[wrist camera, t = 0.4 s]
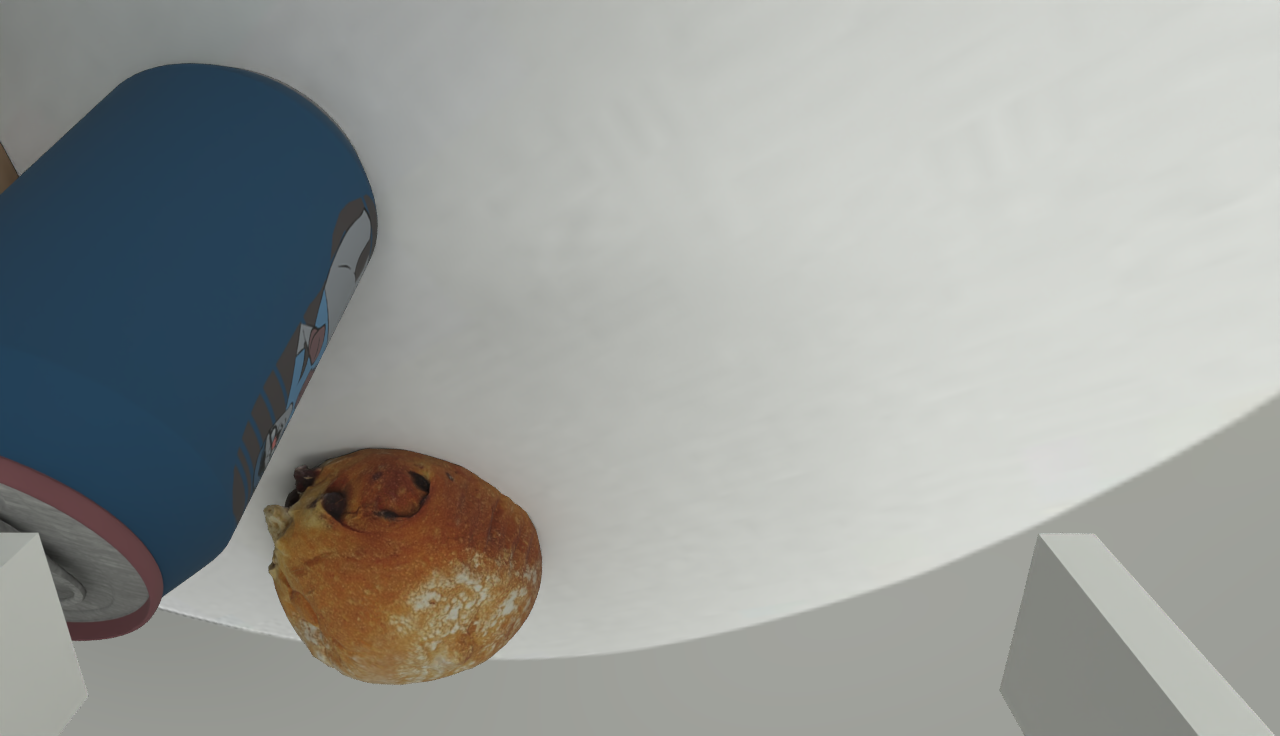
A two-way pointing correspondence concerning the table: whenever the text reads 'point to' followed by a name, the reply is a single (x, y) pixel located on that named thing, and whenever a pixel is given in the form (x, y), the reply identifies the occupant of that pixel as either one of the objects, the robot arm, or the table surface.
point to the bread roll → (402, 565)
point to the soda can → (166, 323)
